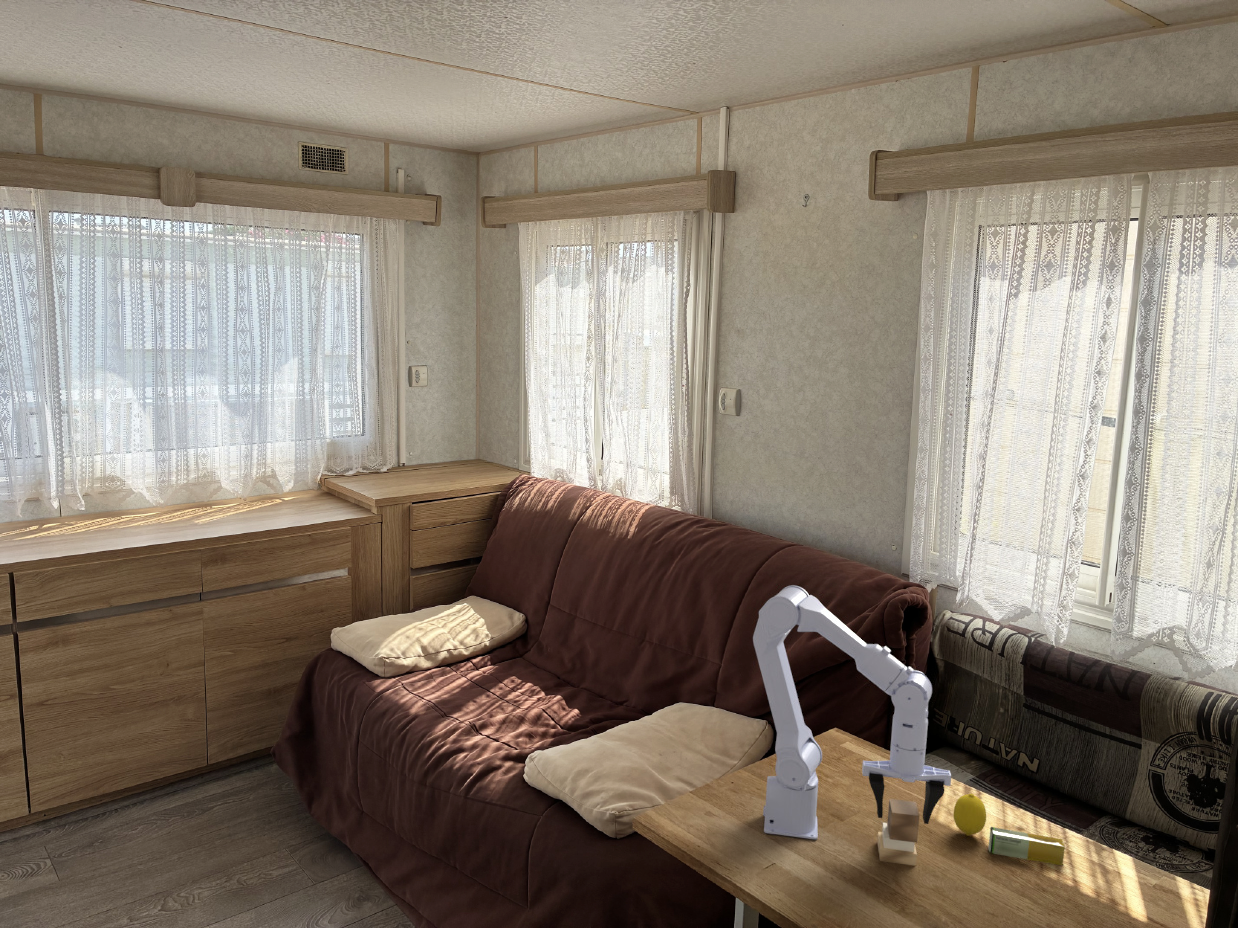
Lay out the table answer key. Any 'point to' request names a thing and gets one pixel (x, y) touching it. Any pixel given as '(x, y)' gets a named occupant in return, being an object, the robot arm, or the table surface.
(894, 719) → the robot arm
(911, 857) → the oak base block
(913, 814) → the walnut block
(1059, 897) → the table surface
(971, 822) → the lemon
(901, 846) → the cream block
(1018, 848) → the medication box
